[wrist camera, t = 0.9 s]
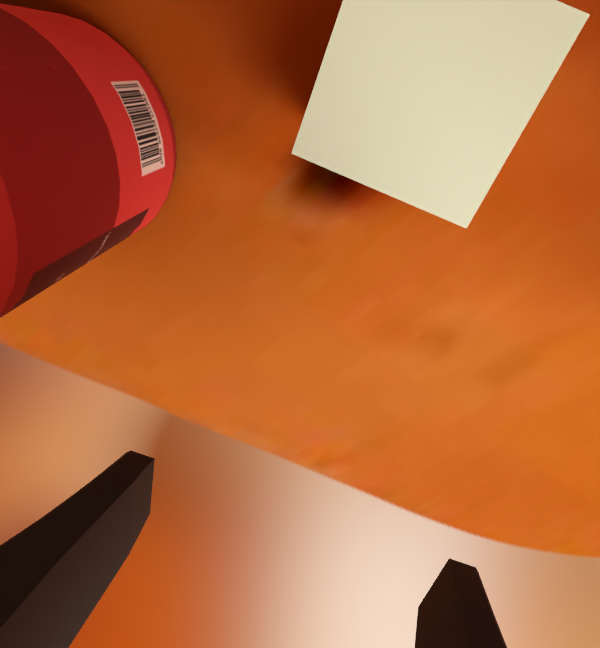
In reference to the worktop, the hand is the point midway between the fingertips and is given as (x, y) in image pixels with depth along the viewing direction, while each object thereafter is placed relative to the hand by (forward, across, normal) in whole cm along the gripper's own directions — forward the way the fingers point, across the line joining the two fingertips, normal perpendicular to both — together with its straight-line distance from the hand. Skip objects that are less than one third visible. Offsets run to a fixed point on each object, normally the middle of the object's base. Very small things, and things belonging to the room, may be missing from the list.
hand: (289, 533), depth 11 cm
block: (+10, 0, -9) cm, 14 cm away
